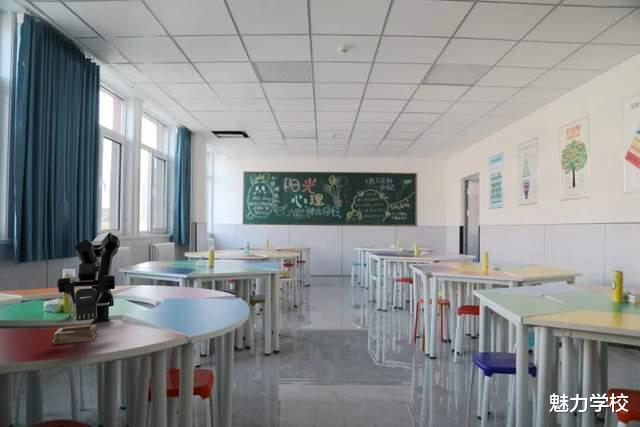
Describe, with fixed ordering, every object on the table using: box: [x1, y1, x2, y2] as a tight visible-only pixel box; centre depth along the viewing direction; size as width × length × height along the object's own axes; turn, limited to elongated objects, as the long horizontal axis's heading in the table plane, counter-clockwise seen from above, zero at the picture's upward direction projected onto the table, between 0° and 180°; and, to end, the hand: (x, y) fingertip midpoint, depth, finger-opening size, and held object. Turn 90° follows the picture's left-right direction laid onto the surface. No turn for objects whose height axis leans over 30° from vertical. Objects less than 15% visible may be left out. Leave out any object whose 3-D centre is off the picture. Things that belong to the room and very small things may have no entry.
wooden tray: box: [51, 324, 99, 346], centre depth 147 cm, size 10×13×4 cm
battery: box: [75, 287, 97, 322], centre depth 148 cm, size 7×4×11 cm, turn 117°
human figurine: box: [57, 276, 83, 316], centre depth 187 cm, size 12×4×18 cm, turn 126°
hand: (85, 302), depth 147 cm, fingers closed on battery, 7 cm apart
